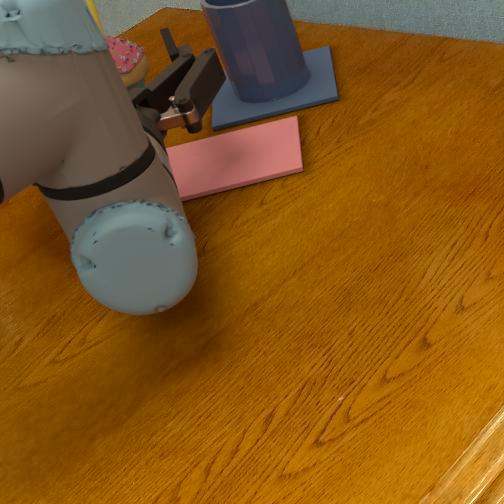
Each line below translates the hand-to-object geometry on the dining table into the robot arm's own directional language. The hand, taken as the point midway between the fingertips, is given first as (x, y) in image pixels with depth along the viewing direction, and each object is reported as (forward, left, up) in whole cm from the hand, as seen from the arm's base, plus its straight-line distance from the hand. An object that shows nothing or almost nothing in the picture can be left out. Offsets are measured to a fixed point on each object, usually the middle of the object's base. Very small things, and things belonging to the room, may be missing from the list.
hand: (94, 67), depth 87 cm
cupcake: (-1, +8, -8) cm, 11 cm away
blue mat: (+14, +6, -8) cm, 17 cm away
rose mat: (+9, -7, -8) cm, 14 cm away
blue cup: (+14, +6, -8) cm, 17 cm away
